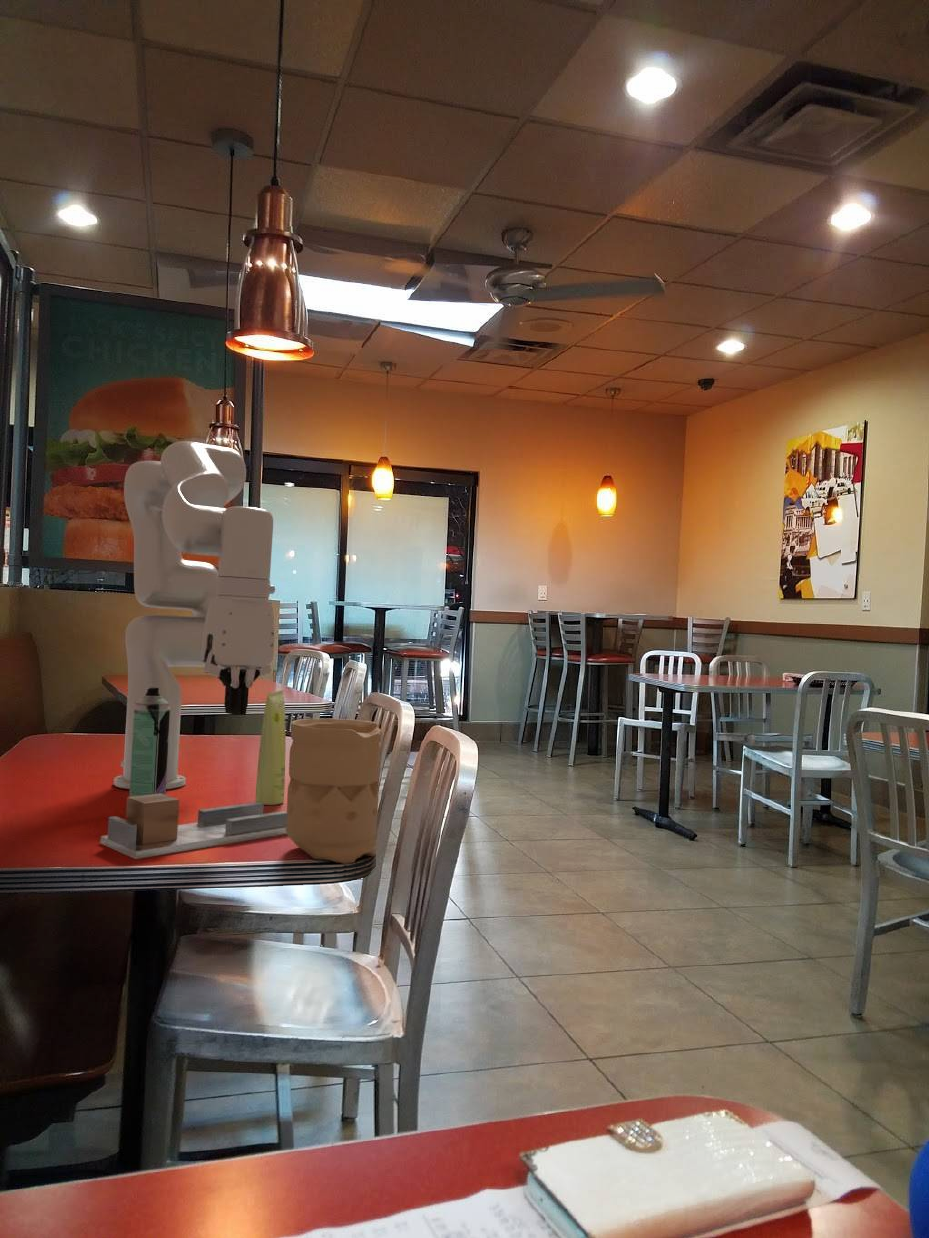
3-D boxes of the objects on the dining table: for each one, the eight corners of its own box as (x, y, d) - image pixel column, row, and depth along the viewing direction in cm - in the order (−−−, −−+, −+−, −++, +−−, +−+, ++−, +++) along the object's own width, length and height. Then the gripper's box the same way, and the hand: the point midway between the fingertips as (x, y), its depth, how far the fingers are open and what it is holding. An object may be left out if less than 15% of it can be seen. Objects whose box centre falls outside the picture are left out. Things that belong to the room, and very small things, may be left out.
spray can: (170, 812, 142) (177, 688, 142) (138, 816, 138) (145, 689, 138) (154, 806, 145) (160, 685, 146) (122, 810, 141) (129, 686, 142)
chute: (100, 843, 121) (102, 814, 121) (255, 820, 139) (256, 795, 139) (135, 859, 114) (137, 828, 114) (293, 832, 132) (294, 806, 132)
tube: (289, 805, 152) (295, 692, 152) (261, 807, 149) (267, 692, 149) (277, 798, 157) (283, 689, 157) (250, 800, 154) (256, 689, 154)
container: (387, 846, 127) (393, 722, 127) (357, 869, 115) (364, 731, 115) (306, 837, 130) (312, 716, 130) (268, 858, 118) (275, 724, 118)
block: (125, 837, 121) (127, 797, 121) (158, 832, 124) (161, 793, 124) (142, 844, 117) (144, 803, 117) (177, 839, 121) (179, 799, 121)
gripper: (270, 592, 138) (263, 708, 139) (184, 586, 128) (176, 712, 128) (299, 594, 133) (291, 714, 134) (211, 588, 122) (203, 719, 123)
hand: (235, 713), depth 131 cm, fingers closed
